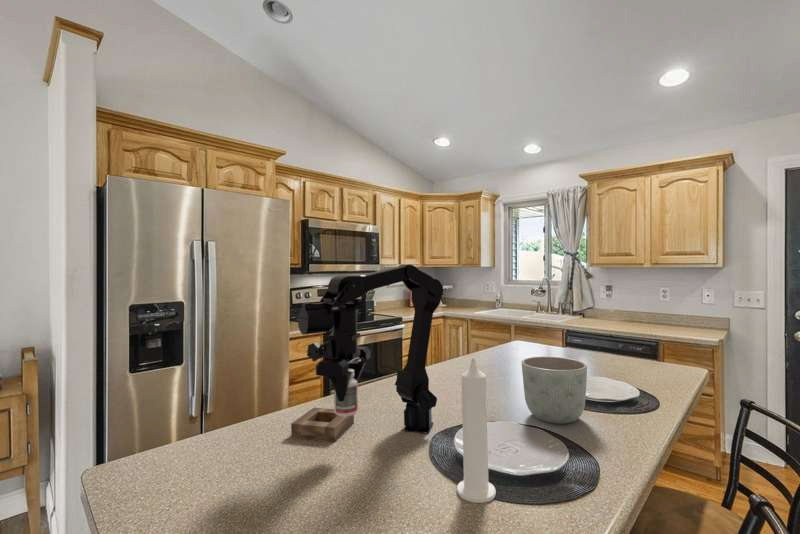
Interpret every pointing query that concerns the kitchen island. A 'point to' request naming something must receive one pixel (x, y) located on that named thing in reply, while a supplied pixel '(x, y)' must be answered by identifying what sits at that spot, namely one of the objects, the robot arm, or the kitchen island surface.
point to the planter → (554, 388)
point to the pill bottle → (348, 399)
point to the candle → (475, 438)
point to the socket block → (321, 425)
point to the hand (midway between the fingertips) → (346, 397)
